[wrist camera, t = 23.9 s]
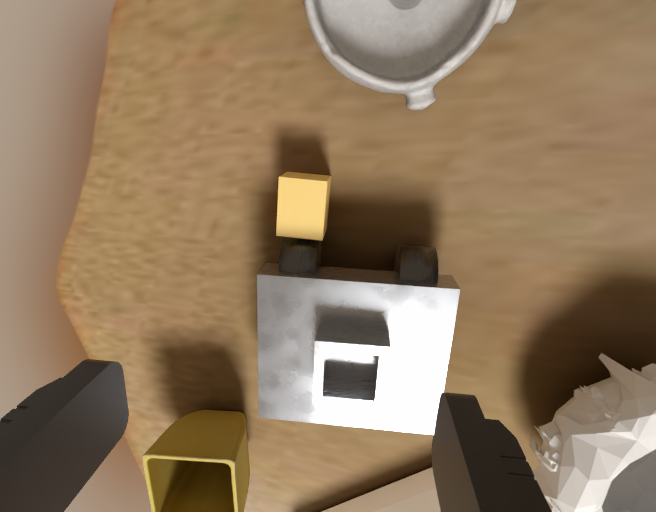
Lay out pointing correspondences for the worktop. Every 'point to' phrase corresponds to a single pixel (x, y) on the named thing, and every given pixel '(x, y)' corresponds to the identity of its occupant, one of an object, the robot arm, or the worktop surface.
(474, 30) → the dish
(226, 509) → the flower pot
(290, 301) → the dolly
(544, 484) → the bowl
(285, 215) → the pale yellow block
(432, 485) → the white faceted prism
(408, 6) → the pin
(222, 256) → the worktop surface
